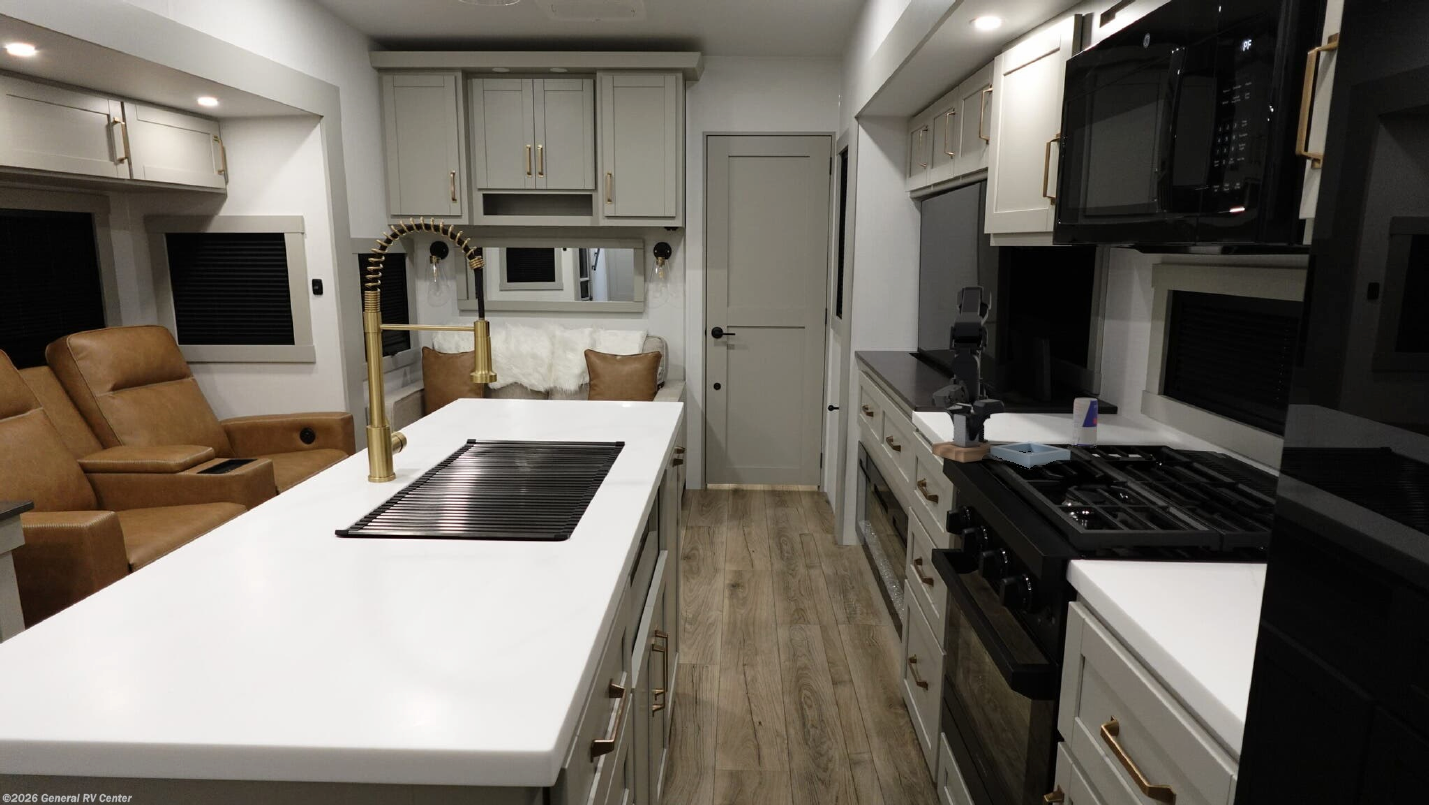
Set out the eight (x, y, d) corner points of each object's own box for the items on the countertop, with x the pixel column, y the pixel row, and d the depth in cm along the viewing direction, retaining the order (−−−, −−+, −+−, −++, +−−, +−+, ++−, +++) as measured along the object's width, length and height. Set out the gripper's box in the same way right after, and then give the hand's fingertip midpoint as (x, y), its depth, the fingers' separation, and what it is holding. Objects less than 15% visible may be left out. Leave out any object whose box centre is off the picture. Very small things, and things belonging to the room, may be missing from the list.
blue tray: (990, 459, 184) (990, 446, 183) (1029, 453, 188) (1029, 441, 188) (1029, 469, 173) (1030, 455, 172) (1069, 463, 177) (1070, 450, 177)
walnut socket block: (932, 454, 191) (932, 443, 191) (967, 449, 195) (967, 439, 195) (963, 462, 181) (963, 451, 181) (1000, 457, 185) (1000, 446, 185)
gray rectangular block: (953, 455, 189) (953, 414, 188) (966, 453, 191) (967, 412, 189) (964, 458, 186) (965, 416, 184) (978, 456, 187) (978, 414, 186)
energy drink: (1100, 449, 191) (1102, 400, 190) (1077, 449, 192) (1079, 400, 190) (1090, 444, 197) (1092, 397, 195) (1068, 445, 197) (1070, 397, 195)
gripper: (914, 372, 191) (913, 436, 193) (967, 380, 174) (966, 449, 176) (950, 370, 195) (949, 432, 197) (1006, 376, 178) (1004, 444, 180)
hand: (965, 439), depth 188 cm, fingers closed on gray rectangular block, 4 cm apart
